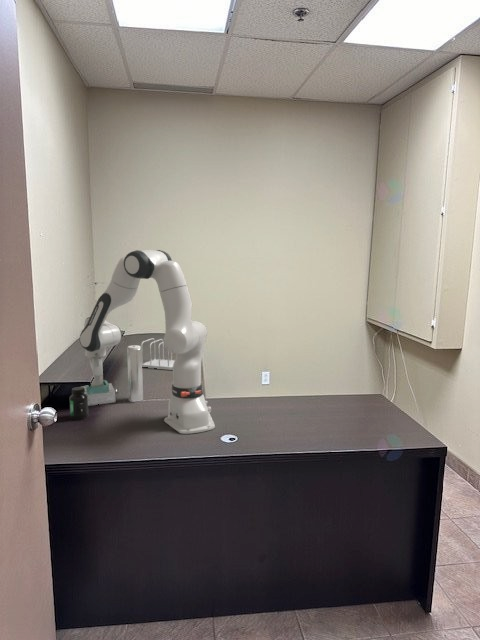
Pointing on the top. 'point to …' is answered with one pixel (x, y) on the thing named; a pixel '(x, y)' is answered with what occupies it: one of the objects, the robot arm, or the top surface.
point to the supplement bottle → (78, 404)
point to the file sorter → (158, 362)
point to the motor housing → (100, 394)
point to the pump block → (97, 384)
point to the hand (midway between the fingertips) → (96, 381)
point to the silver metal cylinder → (135, 373)
